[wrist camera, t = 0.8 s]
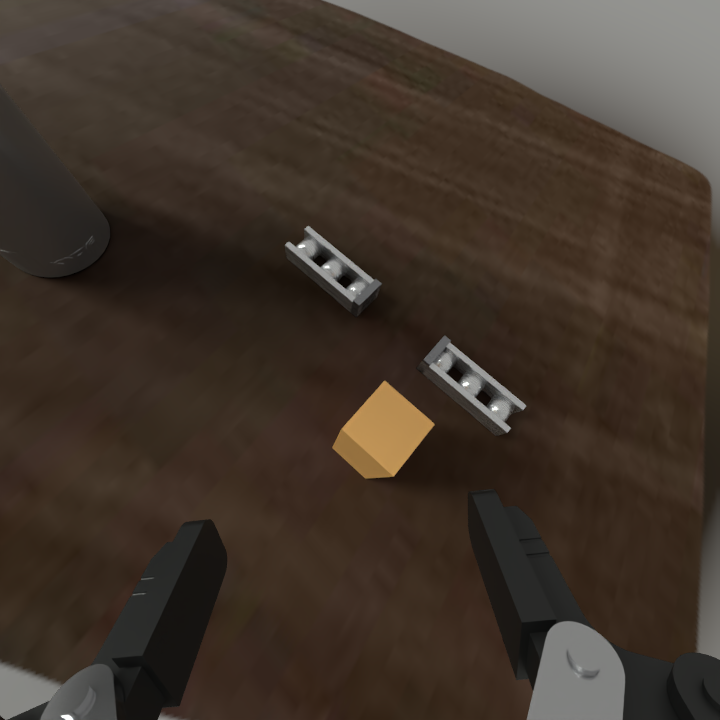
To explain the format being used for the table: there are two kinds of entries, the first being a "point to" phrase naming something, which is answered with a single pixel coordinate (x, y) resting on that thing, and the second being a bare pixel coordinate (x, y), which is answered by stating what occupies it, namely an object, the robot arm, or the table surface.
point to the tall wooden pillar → (382, 434)
